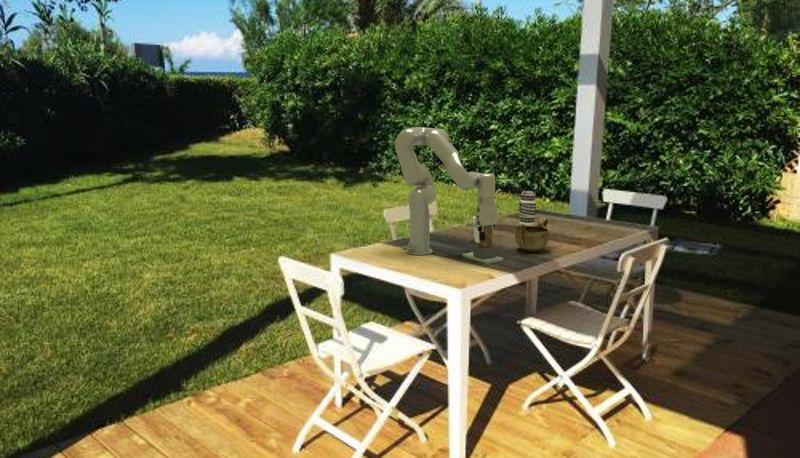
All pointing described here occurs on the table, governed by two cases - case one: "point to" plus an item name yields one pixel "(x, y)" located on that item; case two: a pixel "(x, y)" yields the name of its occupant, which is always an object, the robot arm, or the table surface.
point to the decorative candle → (527, 208)
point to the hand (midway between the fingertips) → (485, 239)
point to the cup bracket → (484, 254)
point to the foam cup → (476, 231)
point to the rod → (487, 237)
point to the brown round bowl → (532, 236)
